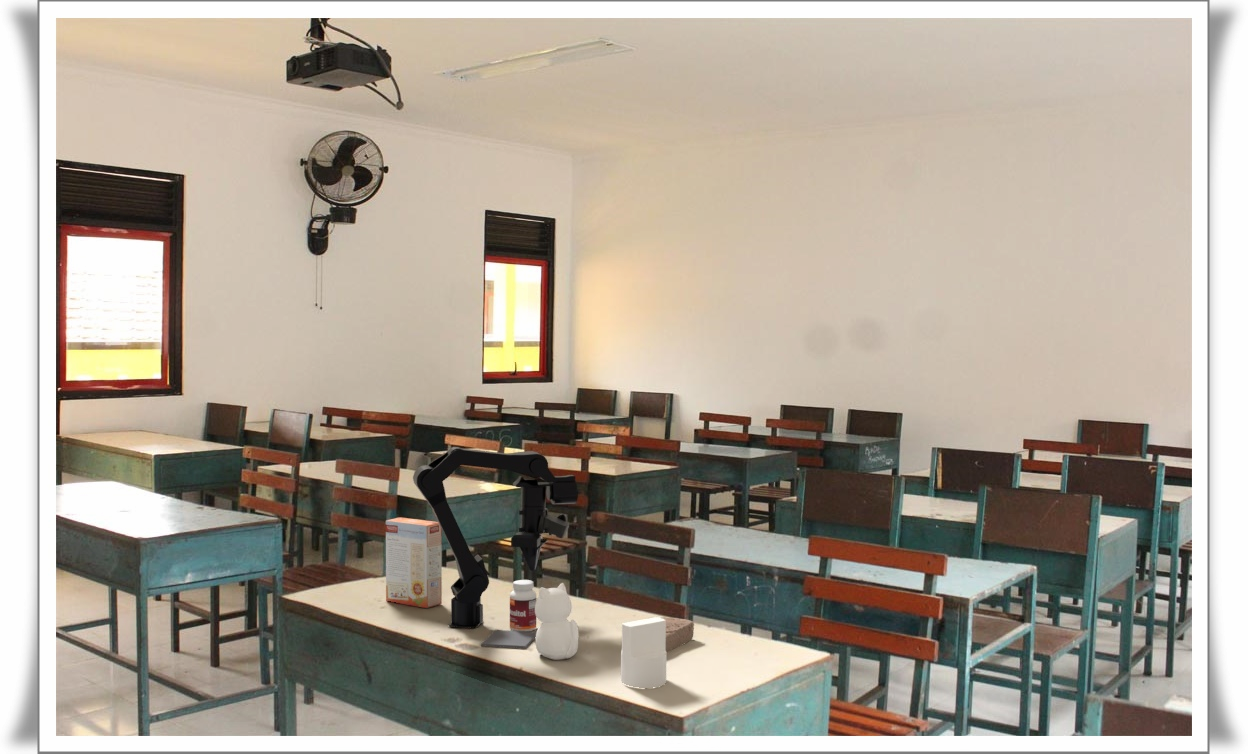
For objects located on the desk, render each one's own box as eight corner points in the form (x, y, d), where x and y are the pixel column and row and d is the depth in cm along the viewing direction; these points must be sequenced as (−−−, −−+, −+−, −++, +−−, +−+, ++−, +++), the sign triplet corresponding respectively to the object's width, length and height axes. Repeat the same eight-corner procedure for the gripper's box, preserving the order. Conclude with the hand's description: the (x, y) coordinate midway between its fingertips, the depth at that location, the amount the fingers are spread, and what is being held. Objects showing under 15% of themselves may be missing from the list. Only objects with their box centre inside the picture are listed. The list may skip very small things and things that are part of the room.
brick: (655, 659, 239) (655, 637, 238) (622, 652, 243) (622, 630, 243) (695, 641, 252) (695, 620, 252) (663, 635, 257) (663, 614, 257)
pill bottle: (504, 630, 259) (504, 582, 258) (520, 624, 264) (520, 577, 264) (525, 634, 256) (525, 586, 255) (541, 628, 261) (541, 581, 260)
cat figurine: (556, 646, 247) (555, 578, 246) (594, 658, 238) (594, 587, 237) (524, 655, 240) (523, 585, 240) (562, 667, 231) (561, 595, 231)
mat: (481, 646, 246) (481, 643, 246) (495, 632, 257) (495, 629, 257) (525, 648, 244) (525, 646, 244) (537, 634, 255) (537, 632, 255)
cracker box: (443, 604, 282) (442, 521, 281) (426, 609, 277) (426, 525, 276) (401, 596, 289) (401, 516, 288) (385, 601, 284) (384, 519, 283)
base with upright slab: (638, 692, 217) (638, 630, 216) (612, 679, 224) (612, 620, 224) (675, 683, 222) (675, 623, 221) (648, 671, 229) (649, 613, 229)
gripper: (558, 513, 256) (557, 580, 257) (574, 500, 275) (573, 563, 276) (510, 511, 258) (510, 578, 259) (530, 498, 277) (529, 561, 277)
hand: (532, 570), depth 268 cm, fingers closed
